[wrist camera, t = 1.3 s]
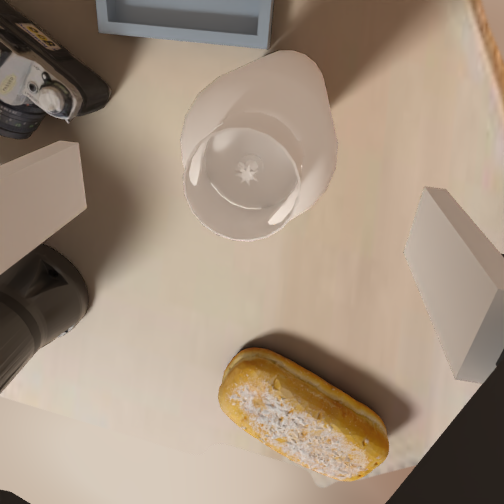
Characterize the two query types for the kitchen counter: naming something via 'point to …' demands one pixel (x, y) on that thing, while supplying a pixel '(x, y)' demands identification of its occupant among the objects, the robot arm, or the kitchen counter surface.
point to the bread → (302, 415)
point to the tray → (190, 20)
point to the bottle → (259, 146)
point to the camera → (41, 78)
